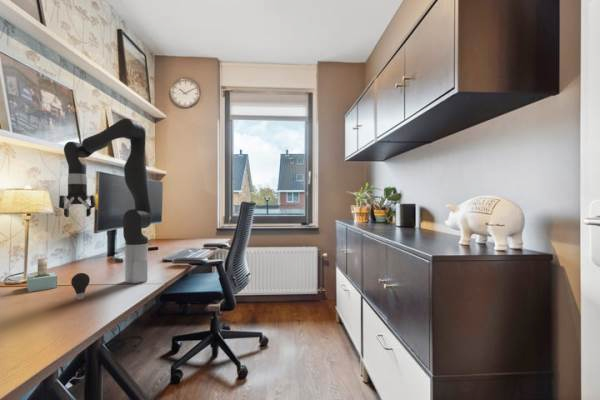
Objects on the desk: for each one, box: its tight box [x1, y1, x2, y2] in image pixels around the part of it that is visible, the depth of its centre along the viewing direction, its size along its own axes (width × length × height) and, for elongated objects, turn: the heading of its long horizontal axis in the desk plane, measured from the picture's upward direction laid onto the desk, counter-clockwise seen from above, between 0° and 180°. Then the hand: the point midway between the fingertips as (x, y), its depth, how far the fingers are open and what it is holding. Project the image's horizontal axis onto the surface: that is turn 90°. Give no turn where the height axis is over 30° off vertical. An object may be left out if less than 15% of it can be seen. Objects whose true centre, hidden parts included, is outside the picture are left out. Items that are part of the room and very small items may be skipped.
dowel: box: [37, 258, 48, 277], centre depth 129 cm, size 3×3×12 cm
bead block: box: [26, 272, 58, 293], centre depth 128 cm, size 9×9×5 cm
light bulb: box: [70, 272, 90, 301], centre depth 113 cm, size 6×6×10 cm
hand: (77, 216), depth 147 cm, fingers open, 8 cm apart
